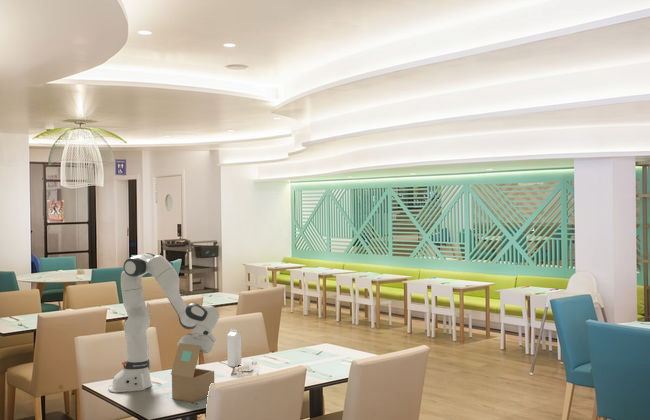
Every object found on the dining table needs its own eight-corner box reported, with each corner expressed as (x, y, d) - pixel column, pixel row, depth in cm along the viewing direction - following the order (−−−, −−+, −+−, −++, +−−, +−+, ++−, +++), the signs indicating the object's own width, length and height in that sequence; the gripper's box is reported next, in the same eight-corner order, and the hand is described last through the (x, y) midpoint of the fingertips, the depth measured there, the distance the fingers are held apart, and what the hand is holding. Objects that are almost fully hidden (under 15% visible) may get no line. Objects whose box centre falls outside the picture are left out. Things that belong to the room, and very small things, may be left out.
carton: (193, 402, 319) (192, 378, 319) (172, 398, 327) (171, 374, 327) (214, 394, 333) (214, 370, 333) (194, 390, 340) (193, 367, 340)
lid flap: (192, 378, 319) (191, 377, 319) (171, 374, 327) (170, 374, 326) (201, 345, 325) (200, 345, 324) (179, 343, 332) (178, 342, 331)
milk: (234, 364, 398) (234, 328, 398) (241, 365, 394) (241, 329, 395) (227, 366, 393) (226, 329, 393) (234, 367, 390) (234, 330, 390)
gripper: (182, 329, 338) (169, 352, 330) (212, 332, 328) (199, 356, 320) (188, 336, 342) (175, 358, 334) (218, 340, 332) (206, 363, 323)
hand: (187, 357), depth 327 cm, fingers closed, pressing on lid flap
